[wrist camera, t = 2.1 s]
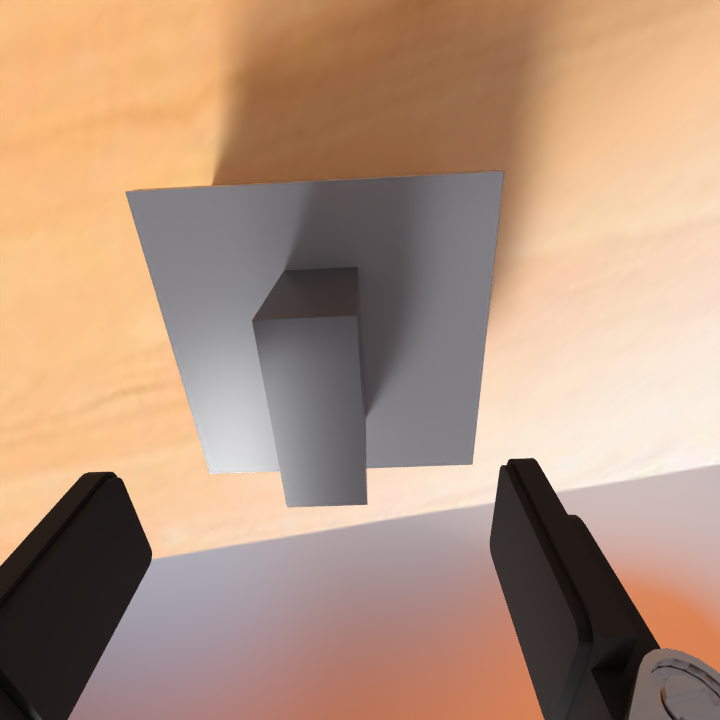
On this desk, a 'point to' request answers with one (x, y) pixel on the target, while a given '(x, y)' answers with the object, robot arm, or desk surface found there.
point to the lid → (327, 321)
